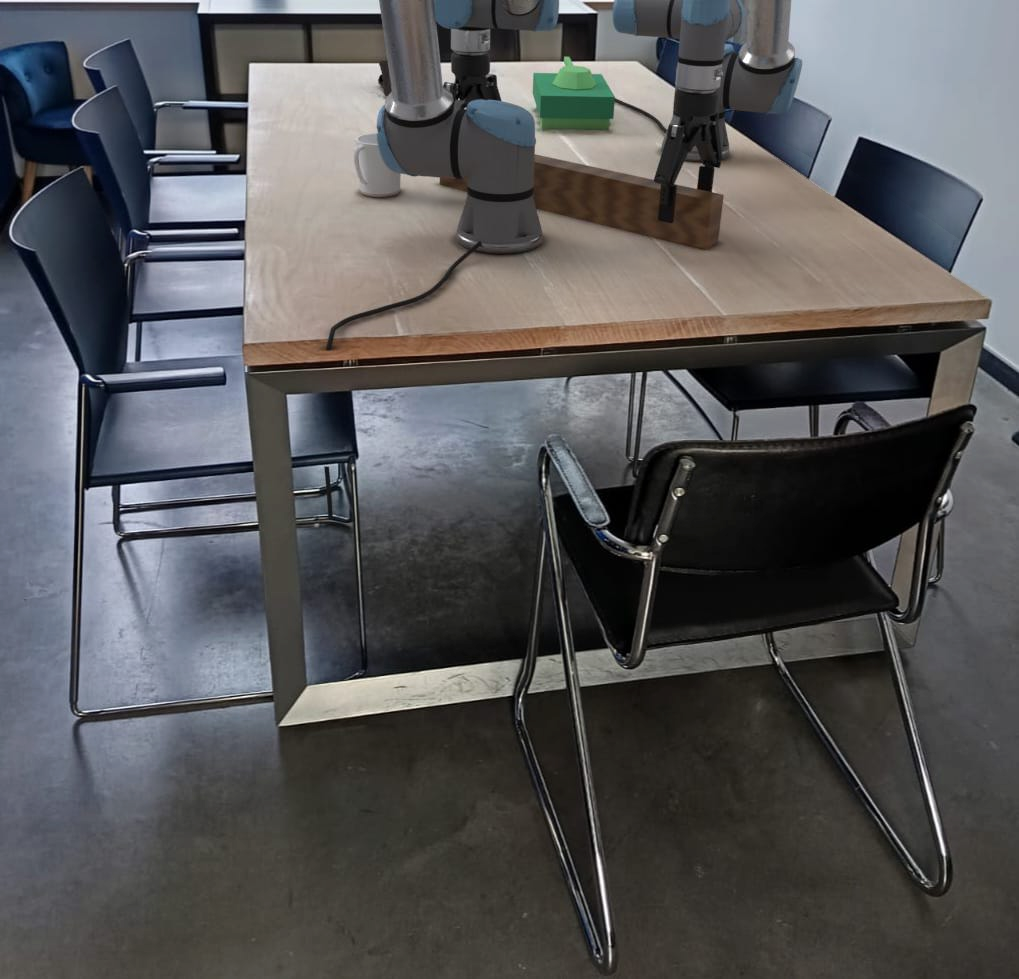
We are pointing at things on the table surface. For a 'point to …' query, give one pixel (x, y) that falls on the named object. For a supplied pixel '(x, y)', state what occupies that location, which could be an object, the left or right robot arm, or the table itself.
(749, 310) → the table surface
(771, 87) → the right robot arm
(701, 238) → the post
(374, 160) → the mug
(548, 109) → the green tank
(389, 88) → the axe head
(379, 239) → the table surface
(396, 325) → the table surface
